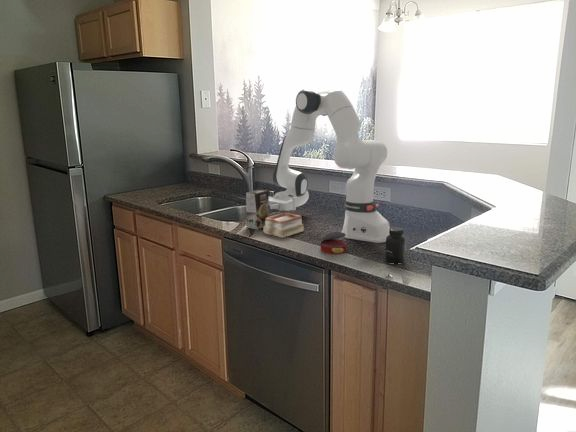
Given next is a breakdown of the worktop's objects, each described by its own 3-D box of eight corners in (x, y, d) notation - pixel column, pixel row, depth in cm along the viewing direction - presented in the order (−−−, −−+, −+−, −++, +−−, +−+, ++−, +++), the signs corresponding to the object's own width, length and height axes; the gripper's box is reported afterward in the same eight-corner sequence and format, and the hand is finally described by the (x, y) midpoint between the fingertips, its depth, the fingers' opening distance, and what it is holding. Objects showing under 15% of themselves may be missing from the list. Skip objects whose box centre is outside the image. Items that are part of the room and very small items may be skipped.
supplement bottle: (383, 263, 158) (384, 230, 155) (386, 257, 164) (387, 225, 161) (403, 266, 155) (405, 232, 153) (405, 259, 162) (407, 227, 159)
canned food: (322, 264, 171) (310, 241, 170) (330, 253, 180) (318, 231, 179) (349, 255, 166) (336, 231, 164) (355, 244, 174) (343, 221, 173)
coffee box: (257, 229, 201) (256, 193, 198) (246, 227, 205) (245, 192, 201) (269, 225, 209) (269, 190, 205) (258, 223, 212) (257, 188, 208)
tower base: (303, 230, 199) (303, 215, 197) (282, 237, 189) (282, 222, 188) (284, 226, 206) (284, 212, 204) (263, 233, 196) (263, 217, 195)
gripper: (266, 191, 223) (245, 196, 213) (298, 197, 209) (277, 202, 199) (266, 204, 224) (245, 209, 214) (298, 210, 211) (278, 216, 201)
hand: (261, 206), depth 207 cm, fingers open, 8 cm apart
